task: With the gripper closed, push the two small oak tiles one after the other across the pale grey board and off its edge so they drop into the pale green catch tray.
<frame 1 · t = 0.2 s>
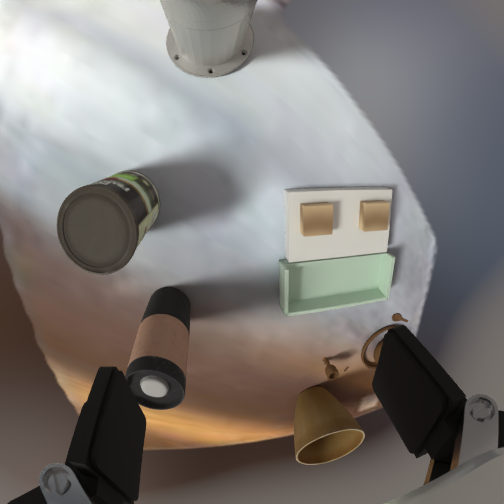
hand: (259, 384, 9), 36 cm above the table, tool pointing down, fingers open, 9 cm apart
board: (337, 220, 47), on the table
tile 2: (371, 213, 44), point 2 cm above the table, touching board
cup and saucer: (369, 341, 59), on the table
tile 1: (314, 217, 43), point 2 cm above the table, touching board
plant pot: (311, 396, 63), on the table
catch tray: (334, 276, 51), on the table
travel mug: (170, 304, 49), on the table
coffee can: (128, 203, 41), on the table
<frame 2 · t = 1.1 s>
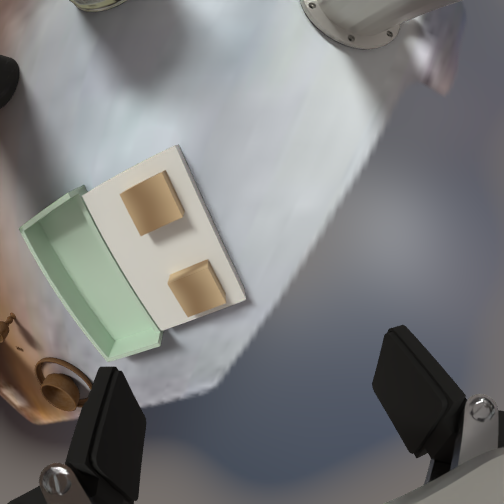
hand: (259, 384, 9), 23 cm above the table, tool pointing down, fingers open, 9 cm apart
board: (167, 241, 31), on the table
tile 2: (198, 284, 31), point 2 cm above the table, touching board
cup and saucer: (59, 361, 38), on the table
tile 1: (154, 200, 27), point 2 cm above the table, touching board
catch tray: (97, 273, 32), on the table
travel mug: (1, 83, 20), on the table
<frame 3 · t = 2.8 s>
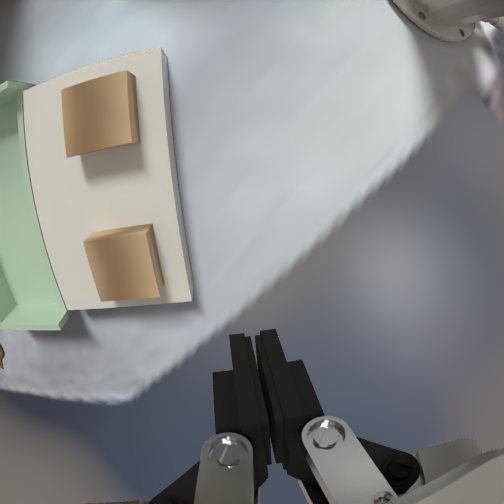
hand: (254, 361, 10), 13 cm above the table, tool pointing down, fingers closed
board: (107, 185, 20), on the table
tile 2: (128, 257, 19), point 2 cm above the table, touching board
tile 1: (105, 115, 16), point 2 cm above the table, touching board
catch tray: (13, 208, 19), on the table
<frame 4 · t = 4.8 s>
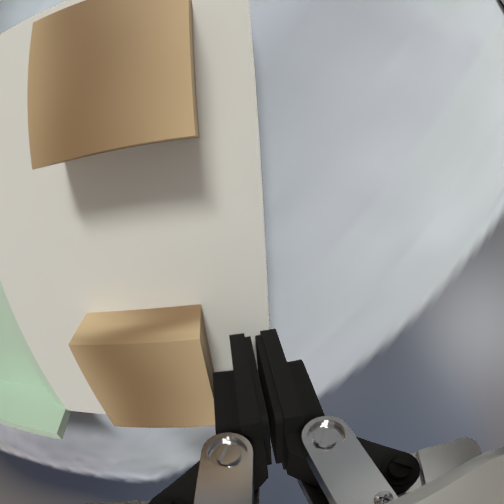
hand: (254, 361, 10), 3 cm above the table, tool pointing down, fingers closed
board: (119, 219, 11), on the table
tile 2: (154, 356, 11), point 2 cm above the table, touching board, gripper
tile 1: (121, 79, 7), point 2 cm above the table, touching board
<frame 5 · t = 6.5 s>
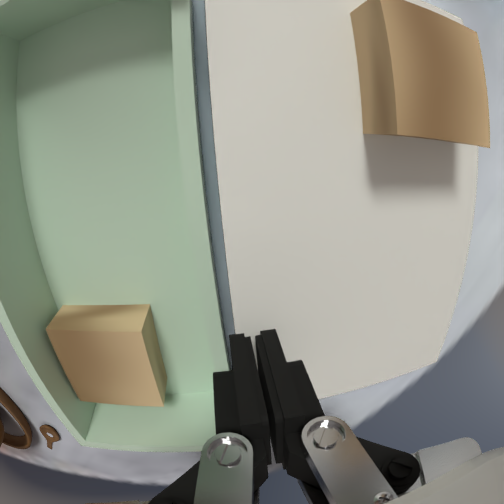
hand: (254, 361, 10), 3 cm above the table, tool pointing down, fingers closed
board: (351, 198, 12), on the table
tile 2: (104, 372, 11), point 2 cm above the table, tilted 180°, touching catch tray
tile 1: (410, 78, 8), point 2 cm above the table, touching board
catch tray: (107, 224, 11), on the table
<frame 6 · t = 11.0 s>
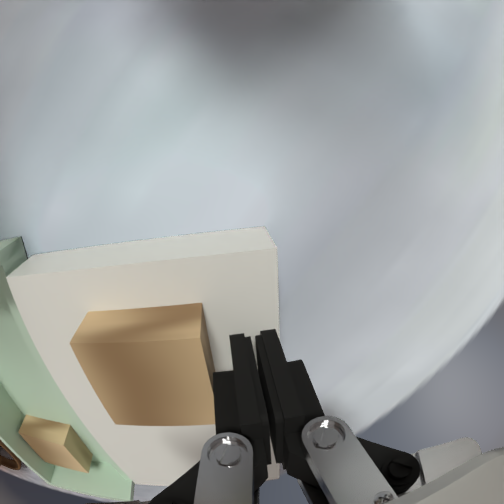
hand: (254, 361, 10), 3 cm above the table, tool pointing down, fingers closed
board: (175, 391, 15), on the table
tile 2: (53, 454, 14), point 2 cm above the table, tilted 180°, touching catch tray
tile 1: (155, 354, 11), point 2 cm above the table, touching board, gripper
catch tray: (36, 385, 14), on the table
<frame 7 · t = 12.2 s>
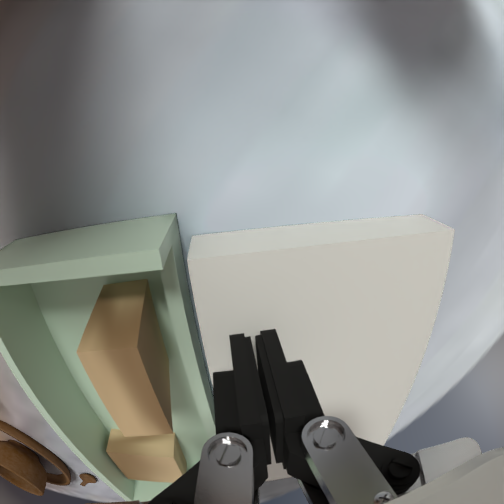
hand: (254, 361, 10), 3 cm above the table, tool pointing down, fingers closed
board: (315, 374, 16), on the table
tile 2: (148, 469, 14), point 2 cm above the table, tilted 180°, touching catch tray
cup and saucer: (23, 431, 17), on the table
tile 1: (157, 355, 10), point 3 cm above the table, tilted 83°, touching catch tray
catch tray: (139, 393, 15), on the table
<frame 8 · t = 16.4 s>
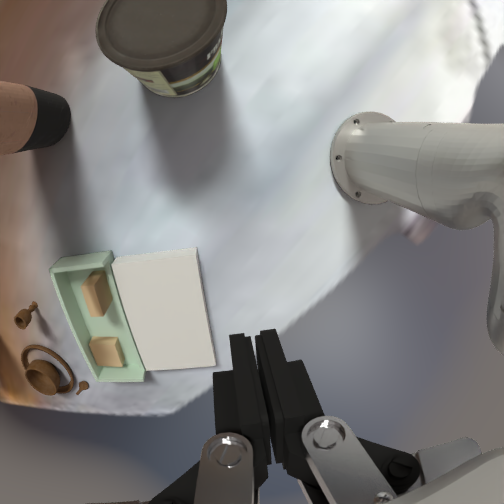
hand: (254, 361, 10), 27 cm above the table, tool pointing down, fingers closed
board: (168, 311, 40), on the table
tile 2: (105, 355, 38), point 2 cm above the table, tilted 180°, touching catch tray
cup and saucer: (53, 353, 41), on the table
tile 1: (104, 292, 34), point 3 cm above the table, tilted 90°, touching catch tray
catch tray: (104, 316, 39), on the table
travel mug: (49, 120, 28), on the table
coffee can: (178, 59, 28), on the table
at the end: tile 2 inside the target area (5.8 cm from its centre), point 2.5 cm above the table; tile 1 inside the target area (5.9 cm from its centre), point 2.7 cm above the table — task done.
